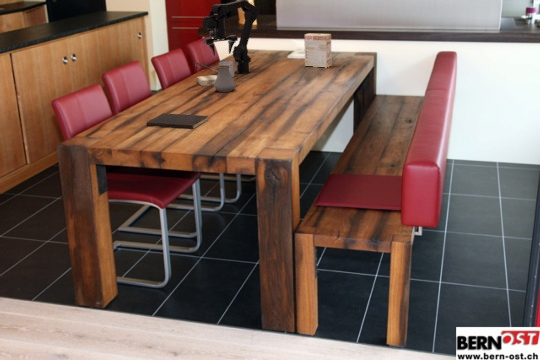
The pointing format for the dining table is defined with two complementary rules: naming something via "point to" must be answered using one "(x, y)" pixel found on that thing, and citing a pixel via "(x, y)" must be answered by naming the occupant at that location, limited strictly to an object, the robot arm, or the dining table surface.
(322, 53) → the coffeecake box
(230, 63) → the medicine box
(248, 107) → the dining table surface
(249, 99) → the dining table surface
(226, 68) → the coffee pot
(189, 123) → the hardcover book
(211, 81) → the cream shallow bowl
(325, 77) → the dining table surface
